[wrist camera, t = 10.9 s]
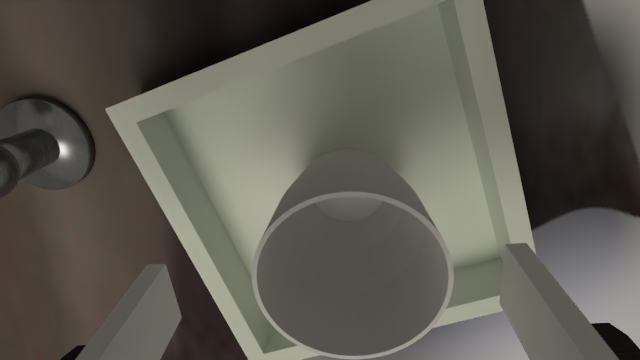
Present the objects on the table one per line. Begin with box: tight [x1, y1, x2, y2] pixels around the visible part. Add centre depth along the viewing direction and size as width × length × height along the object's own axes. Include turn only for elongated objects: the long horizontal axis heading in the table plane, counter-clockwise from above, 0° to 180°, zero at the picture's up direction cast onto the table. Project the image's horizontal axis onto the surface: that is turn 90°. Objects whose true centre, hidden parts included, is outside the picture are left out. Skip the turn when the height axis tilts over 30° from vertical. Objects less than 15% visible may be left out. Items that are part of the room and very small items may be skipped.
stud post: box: [0, 97, 95, 198], centre depth 23 cm, size 6×6×7 cm
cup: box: [252, 149, 454, 359], centre depth 21 cm, size 8×8×10 cm
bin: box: [105, 0, 536, 360], centre depth 24 cm, size 19×19×4 cm
